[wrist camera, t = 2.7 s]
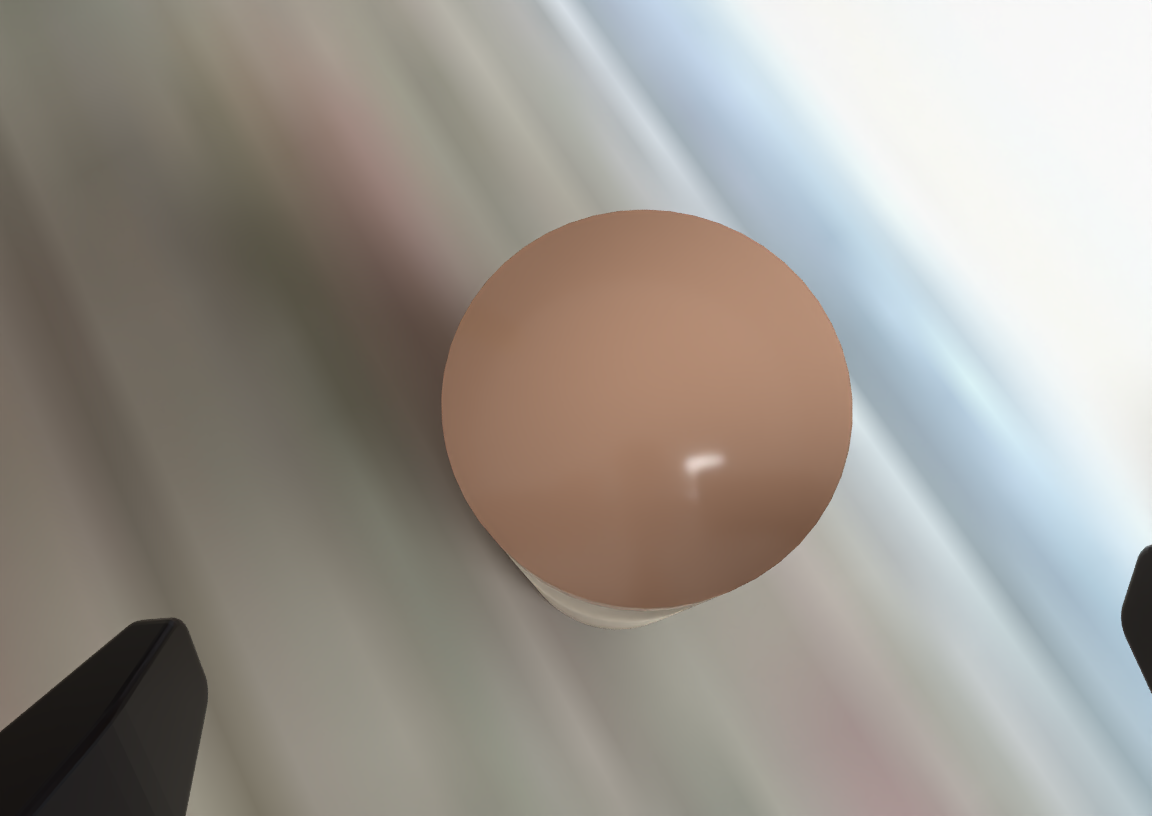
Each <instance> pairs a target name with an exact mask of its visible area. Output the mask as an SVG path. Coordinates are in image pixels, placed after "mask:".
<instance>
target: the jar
mask: <svg viewBox="0 0 1152 816" xmlns="http://www.w3.org/2000/svg"><path fill="white" fill-rule="evenodd" d="M441 405H442V426H443V433H444V439H445V445H446V450H447V453H448V457H449V460H450V463H451V467H452V470H453V473H454V476H455V478H456V480H457V482H458V484H459V487H460V489H461V491H462V493H463V495H464V498H465V499H466V501H467V503H468V504H469V506H470V507H471V509H472V510H473V512H474V514H475V515H476V517H477V518H478V520H479V522H480V523H481V524H482V525H483V526H484V527H485V529H486V530H487V531H488V532H489V533H490V535H491V536H492V537H493V538H494V539H495V541H496V542H497V543H498V544H499V545H500V546H501V548H502V549H503V550H504V551H505V552H506V553H507V555H508V556H509V557H510V558H511V559H512V560H513V562H514V563H515V564H516V565H517V566H518V567H519V568H520V570H521V571H522V572H523V573H524V574H525V575H526V577H527V578H528V579H529V580H530V581H531V582H532V584H533V585H534V586H535V587H536V588H537V589H538V591H539V592H540V593H541V594H542V595H543V596H544V598H545V599H546V600H547V601H549V602H550V603H551V604H552V605H553V606H554V607H555V608H557V609H558V610H559V611H561V612H562V613H564V614H565V615H567V616H569V617H571V618H573V619H575V620H576V621H579V622H581V623H584V624H587V625H590V626H594V627H599V628H603V629H616V630H618V629H632V628H637V627H642V626H646V625H648V624H651V623H654V622H657V621H659V620H662V619H664V618H667V617H669V616H672V615H674V614H676V613H679V612H681V611H684V610H686V609H689V608H691V607H693V606H696V605H698V604H701V603H703V602H706V601H708V600H710V599H713V598H715V597H718V596H720V595H723V594H725V593H727V592H730V591H732V590H734V589H736V588H738V587H740V586H742V585H744V584H746V583H748V582H750V581H752V580H754V579H756V578H758V577H759V576H760V575H762V574H763V573H765V572H766V571H768V570H769V569H771V568H772V567H774V566H775V565H776V564H778V563H779V562H780V561H781V560H783V559H784V558H785V557H786V556H787V555H788V554H789V553H790V552H791V551H792V550H794V549H795V548H796V547H797V546H798V545H799V544H800V543H801V542H802V540H803V539H804V538H805V537H806V536H807V534H808V533H809V532H810V531H811V529H812V528H813V527H814V526H815V525H816V523H817V522H818V520H819V519H820V517H821V515H822V514H823V512H824V511H825V509H826V507H827V506H828V504H829V502H830V501H831V499H832V497H833V494H834V492H835V490H836V487H837V485H838V483H839V481H840V478H841V476H842V472H843V469H844V465H845V462H846V458H847V455H848V451H849V445H850V437H851V430H852V393H851V385H850V378H849V372H848V368H847V364H846V361H845V357H844V354H843V350H842V347H841V344H840V342H839V340H838V337H837V335H836V333H835V330H834V328H833V326H832V323H831V322H830V320H829V318H828V317H827V315H826V313H825V311H824V310H823V308H822V306H821V305H820V303H819V301H818V300H817V299H816V297H815V296H814V295H813V294H812V292H811V291H810V290H809V288H808V287H807V286H806V284H805V283H804V282H803V281H802V280H801V279H800V278H799V277H798V276H797V275H796V274H795V273H794V272H793V271H792V270H791V269H790V268H789V267H788V266H787V265H786V264H785V263H784V262H783V261H782V260H780V259H779V258H778V257H777V256H775V255H774V254H773V253H771V252H770V251H769V250H768V249H766V248H765V247H764V246H762V245H760V244H759V243H757V242H755V241H754V240H752V239H750V238H749V237H747V236H745V235H744V234H742V233H740V232H737V231H735V230H733V229H731V228H728V227H726V226H724V225H722V224H719V223H716V222H713V221H710V220H707V219H703V218H700V217H697V216H693V215H687V214H682V213H676V212H671V211H657V210H630V211H617V212H611V213H606V214H600V215H595V216H591V217H588V218H585V219H581V220H578V221H575V222H572V223H569V224H566V225H564V226H562V227H560V228H558V229H555V230H553V231H551V232H549V233H547V234H545V235H543V236H542V237H540V238H538V239H537V240H535V241H533V242H532V243H530V244H528V245H527V246H525V247H524V248H522V249H521V250H520V251H519V252H517V253H516V254H515V255H514V256H512V257H511V258H510V259H509V260H507V261H506V262H505V263H504V264H503V265H502V266H501V267H500V268H499V269H498V270H497V271H496V272H495V273H494V274H493V275H492V276H491V277H490V278H489V279H488V280H487V282H486V283H485V284H484V286H483V287H482V288H481V290H480V291H479V292H478V294H477V295H476V296H475V298H474V299H473V300H472V302H471V304H470V306H469V307H468V309H467V311H466V313H465V315H464V316H463V318H462V320H461V322H460V324H459V326H458V329H457V331H456V334H455V336H454V339H453V341H452V344H451V346H450V350H449V354H448V358H447V362H446V366H445V370H444V377H443V386H442V395H441Z"/></svg>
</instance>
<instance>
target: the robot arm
mask: <svg viewBox="0 0 1152 816" xmlns="http://www.w3.org/2000/svg"><path fill="white" fill-rule="evenodd" d="M1121 621H1122V627H1123V631H1124V634H1125V637H1126V639H1127V641H1128V644H1129V646H1130V648H1131V650H1132V652H1133V654H1134V657H1135V659H1136V661H1137V663H1138V665H1139V667H1140V669H1141V672H1142V674H1143V676H1144V678H1145V680H1146V682H1147V685H1148V687H1149V689H1150V691H1151V693H1152V545H1149V546H1147V547H1145V548H1144V549H1143V550H1142V551H1141V552H1140V554H1139V556H1138V559H1137V562H1136V565H1135V568H1134V572H1133V575H1132V578H1131V581H1130V584H1129V587H1128V590H1127V593H1126V596H1125V600H1124V603H1123V606H1122V611H1121ZM207 702H208V686H207V680H206V676H205V674H204V671H203V668H202V666H201V663H200V660H199V658H198V655H197V652H196V650H195V647H194V644H193V642H192V639H191V636H190V634H189V631H188V629H187V627H186V625H185V624H184V623H183V621H181V620H180V619H177V618H160V619H147V620H140V621H136V622H134V623H132V624H130V625H129V626H128V627H126V628H125V629H124V630H123V631H121V632H120V633H119V634H118V635H117V636H115V637H114V638H113V639H112V640H111V641H109V642H108V643H107V644H106V645H104V646H103V647H102V648H101V649H100V650H98V651H97V652H96V653H95V654H94V655H92V656H91V657H90V658H89V659H88V660H86V661H85V662H84V663H83V664H82V665H80V666H79V667H78V668H77V669H76V670H74V671H73V672H72V673H71V674H69V675H68V676H67V677H66V678H65V679H63V680H62V681H61V682H60V683H59V684H57V685H56V686H55V687H54V688H53V689H51V690H50V691H49V692H48V693H47V694H45V695H44V696H43V697H42V698H41V699H39V700H38V701H37V702H36V703H34V704H33V705H32V706H31V707H30V708H28V709H27V710H26V711H25V712H24V713H22V714H21V715H20V716H19V717H18V718H16V719H15V720H14V721H13V722H12V723H10V724H9V725H8V726H7V727H6V728H4V729H3V730H2V731H1V732H0V816H186V811H187V806H188V801H189V796H190V791H191V785H192V780H193V775H194V770H195V765H196V760H197V755H198V749H199V744H200V739H201V734H202V729H203V724H204V719H205V713H206V708H207Z"/></svg>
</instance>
